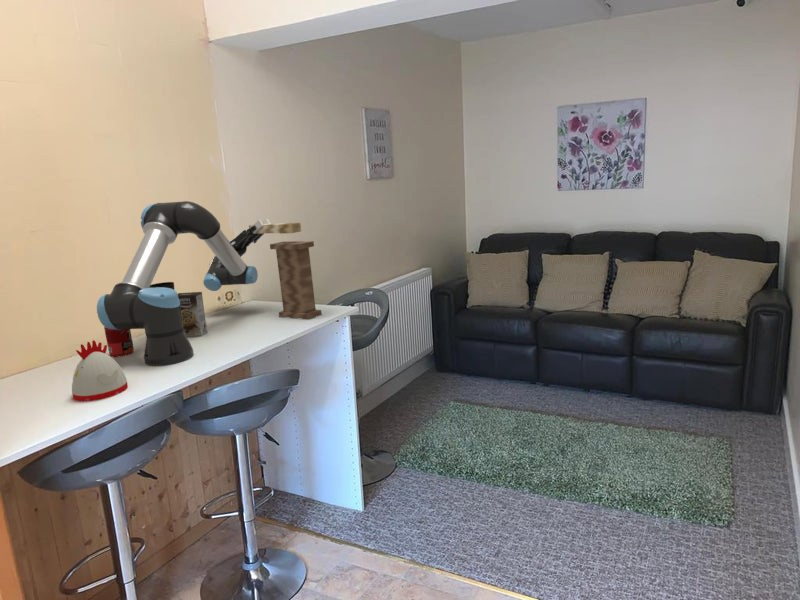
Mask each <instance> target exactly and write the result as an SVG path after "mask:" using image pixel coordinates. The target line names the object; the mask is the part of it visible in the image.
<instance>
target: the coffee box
mask: <svg viewBox="0 0 800 600" xmlns="http://www.w3.org/2000/svg"><path fill="white" fill-rule="evenodd" d="M177 294H178V298H179V301H180V308H181V314H182V321H183V328H184V333H185V335H186V337H187V338H195V337H196V338H197V337H198V336H201V337H203V336H204V335H206V334H207V333H208V328H207V327H208V325H207V320H206V313H205V307H204V306H205V305H204V299H203V298H204V297H203V292H202V291H195V292H194V291H193V292H179V293H177ZM206 332H207V333H206ZM205 333H206V334H205ZM202 335H203V336H202Z"/></svg>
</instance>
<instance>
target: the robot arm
mask: <svg viewBox="0 0 800 600" xmlns="http://www.w3.org/2000/svg"><path fill="white" fill-rule="evenodd" d="M140 219H141V221H140V226H141V228H142V231H143V234H144V235H143V238H142V239H141V241H140V243H139V246H138V248H137V250H136V252H135V254H134V256H133V258H132V260H131V262H130V265H129V266H128V268H127V271H126V273H125V275H124V277H123V279H122V281H121V282H119V283H116V284H115V285H114V286H113V289H112V290H111V292H110V294H108V293H105V294H104V295H101V296H100V297H99V299H98V300H97V304H96V313H97V317H98V320H99V321H100V323H101V325H102V326H103V327H104V326H105V327H106V328H108V329H117V330H122V329H130V330H144V333H145V338H146V341H145V347H144V353H143V361H144V364H145V365H146V366H152V367H153V366H155V367H156V366H166V365H167V366H168V365H172V364H176V363H177V364H178V363H180V362H184V361H187V360H189V359H191V358H192V357H194V349H193V346H192V344H191V343H190V341H189V338H188V337H186V335H185V333H184V328H183V321H182V314H181V308H180V301H179V298H178V294H179V293H178V292H177V291H176V290H175V289H174V290H173V289H171V288H164V287H156V288H150V285H152V284H153V280H154V278H155V276H156V274H157V271H158V269H159V267H160V264H161V262H162V260H163V258H164V255H165V253H166V251H167V249H168V246H169V245H171V244H173V243H175V242H176V239H177V238H178V235H182V234H194V235H196V237H197V238H198V239H200V240H202V241H204V242H205V244H206V245H207V246H208V248H209V249H210V250H211V251H212V253H213V254H214V256H213V257H214V259H213V258H212V259H213V262H212V264H211V266H210V265H209V268H208V271H207V273H205V276H204V279H203V281H202V284H203V285H204V288H206V289H207V290H209V291H211V292H217V291H219V290H220V289H222V286H234V285H236V286H237V285H251V284H252V285H253V284H255V283H256V282H257V281H258V275H259V274H258V269H257V267H255V266H254V265H252V266H251V265H247V264H246V263H245V262H244V260H243V258H242V256H243V255H245V254H246V252H247V249H248V247H249V246H250V245H251V244H252V243H253V244H256V243H257V242H258V240H259V239H261V237H262V236H264V235H265V233H262V234H255V233H256V232H257V231H258V230H259V229H260V228H261V227H262V226H263V224H272V223H271V222H270V219H269V218H266V219H265V220H264V221H262V219H258V220H257V221H255V223H254V225H253V224H252V225H253V226H252V227H251V228H250V229H249V228H247V229H244V230H242V231H241V232H240V233H239V234H238V235H236V237H235V238H233V239H232V240H229V239H228V237H227V236H226V235H225V233H224V232H223V231H222V229H221V224H220V222H219V221H218V219H217V217H215V216H214V214H213V213H212V212H210V211H209V210H208V209H206V208H205V207H204V206H202V205H200V204H198V203H195V202H193V201H188V200H184V201H183V200H182V201H172V202H156V203H152V204H149V205H147V206H145V208H143V210H142V212H141V215H140ZM252 232H253V234H252Z"/></svg>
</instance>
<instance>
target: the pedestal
mask: <svg viewBox="0 0 800 600" xmlns="http://www.w3.org/2000/svg"><path fill="white" fill-rule="evenodd" d="M314 242H315V241H312V240H311V241H310V240H309V241H308V240H307V241H302V240H299V241H297V240H296V241H295V240H294V241H280V242H275V243H270V244H269V248H270V250H275V254H276V260H277V269H278V277H279V287H280V294H281V301H282V308H283V310H281V311H279V312H278V317H279V318H285V317H290V318H289V319H297V318H302V319H301V320H308V319H309V320H311V319H314V318H316V316H317V317H319V316H322V309H316V308H317V307H316V299H315V292H314V283H313V274H312V273H313V272H312V267H311V266H312V265H311V256H310V248H314V247H315V243H314ZM313 317H314V318H313Z"/></svg>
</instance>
